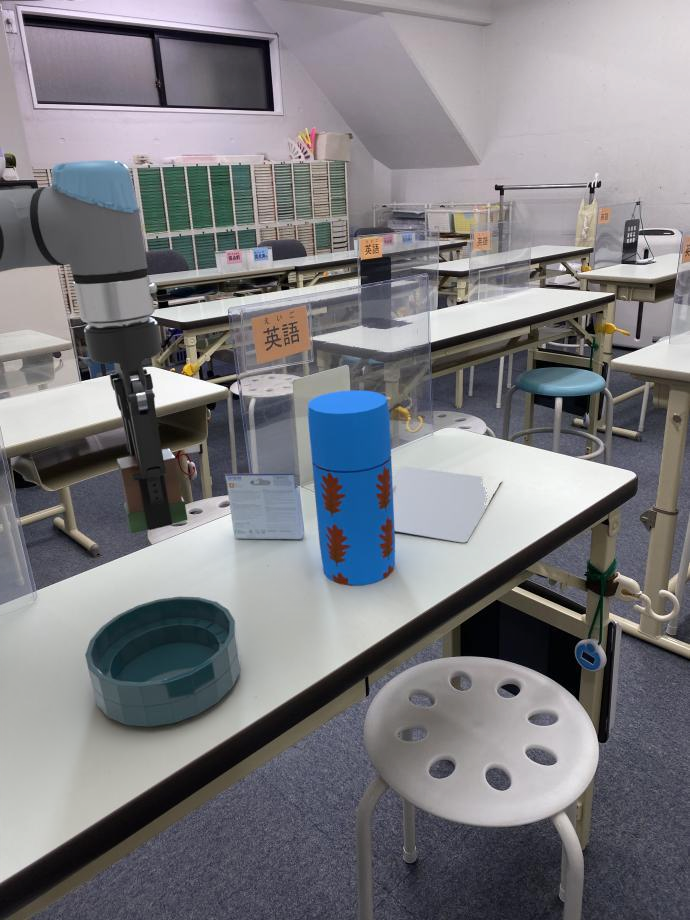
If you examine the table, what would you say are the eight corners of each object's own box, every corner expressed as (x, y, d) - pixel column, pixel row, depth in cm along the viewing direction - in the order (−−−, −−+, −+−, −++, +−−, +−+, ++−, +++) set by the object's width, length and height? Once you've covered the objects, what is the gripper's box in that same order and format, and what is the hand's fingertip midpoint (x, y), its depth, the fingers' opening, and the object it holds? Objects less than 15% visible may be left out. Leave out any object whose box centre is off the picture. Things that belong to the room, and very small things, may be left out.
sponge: (126, 521, 81) (114, 459, 78) (181, 508, 84) (171, 447, 81) (131, 533, 78) (118, 469, 75) (187, 520, 81) (177, 457, 78)
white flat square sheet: (383, 466, 134) (383, 461, 134) (503, 482, 125) (503, 476, 124) (327, 522, 113) (326, 516, 113) (465, 546, 104) (466, 540, 103)
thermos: (370, 593, 93) (360, 418, 83) (307, 574, 98) (290, 408, 89) (409, 557, 101) (402, 394, 92) (348, 541, 107) (336, 386, 97)
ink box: (305, 533, 110) (299, 467, 106) (302, 541, 108) (295, 473, 104) (237, 532, 112) (228, 467, 108) (232, 539, 110) (223, 473, 106)
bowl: (89, 664, 82) (78, 622, 80) (218, 622, 89) (212, 583, 86) (108, 754, 69) (96, 706, 67) (260, 697, 75) (254, 652, 73)
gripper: (171, 326, 66) (205, 539, 75) (142, 306, 81) (173, 487, 89) (90, 338, 64) (135, 557, 72) (76, 314, 78) (114, 500, 87)
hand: (156, 518), depth 81 cm, fingers closed on sponge, 4 cm apart
